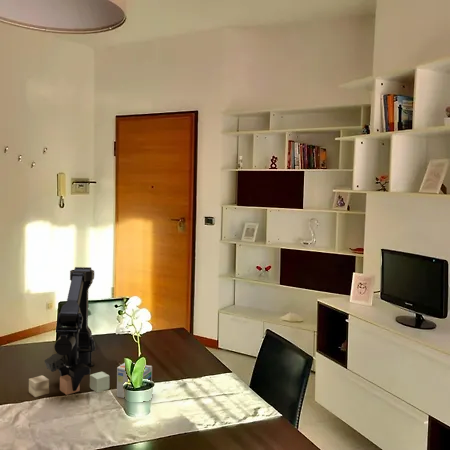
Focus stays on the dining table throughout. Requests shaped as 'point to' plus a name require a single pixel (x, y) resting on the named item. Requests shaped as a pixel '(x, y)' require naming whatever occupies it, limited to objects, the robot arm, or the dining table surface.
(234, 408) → the dining table surface
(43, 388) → the birch block
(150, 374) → the light bulb box
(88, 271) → the robot arm
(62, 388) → the terracotta block
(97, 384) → the sage block
